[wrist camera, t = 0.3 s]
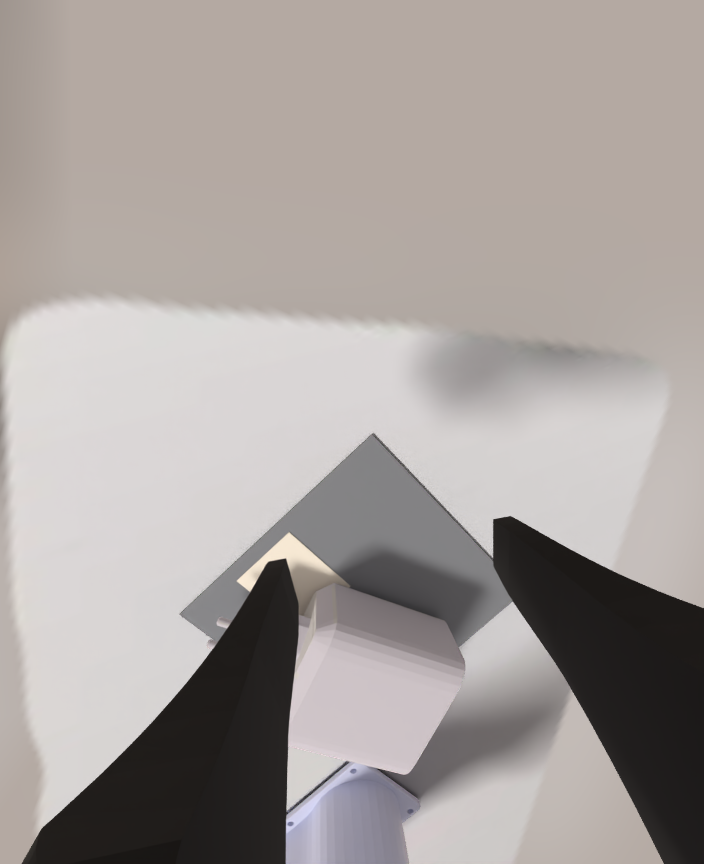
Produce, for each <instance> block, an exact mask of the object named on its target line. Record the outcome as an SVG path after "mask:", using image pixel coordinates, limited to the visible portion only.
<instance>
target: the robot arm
mask: <svg viewBox="0 0 704 864" xmlns="http://www.w3.org/2000/svg"><path fill="white" fill-rule="evenodd" d="M493 566H494V568H495V570H496V572H497V574H498V576H499V578H500V580H501V582H502V584H503V586H504V587H505V589H506V591H507V593H508V595H509V596H510V598H511V599H512V601H513V602H514V604H515V605H516V607H517V608H518V609H519V611H520V612H521V614H522V615H523V617H524V618H525V620H526V621H527V623H528V624H529V625H530V627H531V628H532V630H533V631H534V633H535V634H536V636H537V637H538V638H539V640H540V641H541V643H542V644H543V646H544V647H545V649H546V650H547V651H548V653H549V654H550V656H551V657H552V659H553V660H554V662H555V663H556V665H557V666H558V668H559V669H560V671H561V673H562V674H563V676H564V677H565V679H566V681H567V682H568V684H569V686H570V688H571V689H572V691H573V693H574V695H575V696H576V698H577V700H578V702H579V703H580V705H581V707H582V708H583V710H584V712H585V714H586V716H587V717H588V719H589V721H590V723H591V724H592V726H593V728H594V730H595V732H596V734H597V735H598V737H599V739H600V741H601V742H602V745H603V746H604V748H605V750H606V752H607V754H608V755H609V757H610V759H611V761H612V763H613V765H614V767H615V769H616V771H617V772H618V774H619V776H620V778H621V780H622V782H623V784H624V786H625V788H626V789H627V791H628V793H629V795H630V797H631V799H632V801H633V803H634V805H635V807H636V808H637V811H638V813H639V815H640V817H641V819H642V821H643V823H644V825H645V827H646V828H647V831H648V832H649V835H650V837H651V838H652V841H653V843H654V845H655V847H656V849H657V850H658V853H659V855H660V857H661V859H662V861H663V863H664V864H704V608H701V607H699V606H696V605H693V604H690V603H688V602H685V601H682V600H679V599H677V598H674V597H672V596H669V595H666V594H664V593H661V592H659V591H657V590H654V589H652V588H650V587H647V586H645V585H643V584H640V583H638V582H636V581H633V580H631V579H629V578H626V577H624V576H622V575H620V574H618V573H616V572H614V571H612V570H609V569H607V568H605V567H603V566H601V565H599V564H597V563H595V562H593V561H591V560H589V559H587V558H585V557H584V556H582V555H580V554H578V553H576V552H574V551H572V550H570V549H568V548H567V547H565V546H563V545H561V544H559V543H558V542H556V541H554V540H552V539H550V538H549V537H547V536H545V535H543V534H542V533H540V532H538V531H536V530H535V529H533V528H531V527H529V526H528V525H526V524H524V523H522V522H521V521H519V520H517V519H515V518H513V517H511V516H509V517H503V518H498V519H493ZM298 637H299V603H298V599H297V595H296V592H295V588H294V585H293V581H292V578H291V574H290V570H289V567H288V563H287V560H286V558H285V559H279V560H274V561H269V562H268V563H267V564H266V565H265V567H264V569H263V571H262V572H261V574H260V576H259V578H258V579H257V581H256V583H255V585H254V586H253V588H252V590H251V591H250V593H249V595H248V596H247V598H246V600H245V601H244V603H243V604H242V606H241V608H240V609H239V611H238V613H237V614H236V616H235V617H234V619H233V620H232V622H231V623H230V625H229V626H228V628H227V629H226V631H225V632H224V634H223V635H222V637H221V638H220V639H219V641H218V642H217V644H216V645H215V647H214V648H213V649H212V651H211V652H210V653H209V655H208V656H207V658H206V659H205V660H204V662H203V663H202V664H201V665H200V667H199V668H198V669H197V671H196V672H195V673H194V674H193V676H192V677H191V678H190V679H189V681H188V682H187V683H186V684H185V685H184V687H183V688H182V689H181V690H180V691H179V692H178V694H177V695H176V696H175V697H174V698H173V699H172V701H171V702H170V703H169V704H168V705H167V706H166V707H165V708H164V710H163V711H162V712H161V713H160V714H159V715H158V716H157V717H156V719H155V720H154V721H153V722H152V723H151V724H150V725H149V726H148V727H147V728H146V729H145V730H144V731H143V732H142V734H141V735H140V736H139V737H138V738H137V739H136V740H135V741H134V742H133V743H132V744H131V745H130V746H129V747H128V748H127V749H126V750H125V751H124V752H123V753H122V754H121V755H120V756H119V757H118V758H117V759H116V760H115V761H114V762H113V763H112V764H111V765H110V766H109V767H108V768H107V769H106V770H105V771H104V772H103V773H102V774H101V775H100V776H99V777H97V778H96V779H95V780H94V781H93V782H92V783H91V784H90V785H89V786H88V787H87V788H86V789H84V790H83V791H82V792H81V793H80V794H79V795H78V796H77V797H76V798H75V799H74V800H73V801H71V802H70V803H69V804H68V805H67V806H66V807H65V808H64V809H63V810H62V811H61V812H60V813H58V814H57V815H56V816H55V817H54V818H53V819H52V820H51V821H50V822H48V823H47V824H46V825H45V826H44V827H43V828H42V829H41V831H40V832H39V834H38V836H37V838H36V839H35V841H34V843H33V845H32V846H31V848H30V850H29V852H28V854H27V855H26V857H25V859H24V861H23V862H22V864H409V859H408V853H407V848H406V842H405V836H404V831H403V825H402V823H403V822H404V821H406V820H407V819H408V818H409V817H411V816H412V815H413V814H414V813H416V812H417V811H418V810H419V809H420V802H419V800H418V799H417V798H416V797H415V796H413V795H412V794H411V793H409V792H408V791H406V790H405V789H404V788H402V787H401V786H400V785H398V784H397V783H395V782H394V781H393V780H391V779H390V778H389V777H387V776H386V775H384V774H383V773H382V772H380V771H379V770H378V769H376V768H374V767H370V766H366V765H362V764H358V763H354V762H349V763H348V764H347V765H346V766H344V767H343V768H342V769H341V770H340V771H338V772H337V773H336V774H335V775H334V776H333V777H331V778H330V779H329V780H328V781H327V782H325V783H324V784H323V785H322V786H321V787H319V788H318V789H317V790H316V791H315V792H314V793H312V794H311V795H310V796H309V797H308V798H306V799H305V800H304V801H303V802H302V803H300V804H299V805H298V806H297V807H296V808H295V809H293V810H292V811H291V812H290V813H289V814H287V815H286V804H287V762H288V732H289V720H290V709H291V700H292V691H293V682H294V674H295V665H296V656H297V646H298Z"/></svg>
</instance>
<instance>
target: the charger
mask: <svg viewBox="0 0 704 864" xmlns="http://www.w3.org/2000/svg"><path fill="white" fill-rule="evenodd" d="M231 622H232V620H230V619H226V618H223V617H219V618H218V620H217V626H221V627H224V628H228V626H229V625H230V623H231ZM217 642H218V641H215V640H212V639H211V640H209V641H208V643H207V648H209V649H213V648H214V647H215V645H216V644H217ZM464 674H465V661H464V658H463V656H462V654H461V652H460V650H459V648H458V646H457V644H456V642H455V639H454V637H453V635H452V633H451V631H450V629H449V627H448V625H447V623H446V622H445V621H444V620H441V619H439V618H436V617H433V616H430V615H427V614H424V613H421V612H418V611H415V610H412V609H409V608H406V607H404V606H401V605H398V604H395V603H392V602H389V601H386V600H383V599H380V598H377V597H374V596H371V595H369V594H366V593H363V592H360V591H357V590H354V589H351V588H348V587H345V586H342V585H339V584H336V583H333V584H331V585H329V586H326V587H324V588H322V589H320V590H318V591H316V592H315V593H314V595H313V596H312V598H311V600H310V603H309V605H308V607H307V609H306V611H305V613H304V615H303V616H301V615H299V637H298V646H297V656H296V665H295V674H294V682H293V691H292V700H291V709H290V720H289V732H288V747H292V748H296V749H301V750H305V751H309V752H313V753H317V754H321V755H325V756H329V757H333V758H337V759H341V760H346V761H350V762H354V763H358V764H362V765H366V766H370V767H374V768H378V769H382V770H386V771H390V772H395V773H399V774H403V775H405V774H408V773H409V772H410V771H411V770H412V769H413V767H414V766H415V764H416V763H417V761H418V759H419V757H420V756H421V754H422V752H423V751H424V749H425V747H426V746H427V744H428V742H429V741H430V739H431V737H432V736H433V734H434V732H435V730H436V729H437V727H438V725H439V724H440V722H441V720H442V719H443V717H444V715H445V714H446V712H447V710H448V709H449V707H450V705H451V703H452V702H453V700H454V698H455V697H456V695H457V693H458V691H459V689H460V687H461V684H462V682H463V679H464Z"/></svg>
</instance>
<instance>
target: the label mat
mask: <svg viewBox="0 0 704 864" xmlns="http://www.w3.org/2000/svg"><path fill="white" fill-rule="evenodd" d="M285 558H286V560H287V563H288V567H289V570H290V574H291V578H292V581H293V585H294V588H295V592H296V595H297V599H298V603H299V615H301V616H303V615H304V613H305V611H306V609H307V607H308V605H309V603H310V600H311V598H312V596H313V595H314V593H315V592H316V591H318V590H320V589H322V588H324V587H326V586H329V585H331V584H333V583H336V584H339V585H342V586H345V587H348V588H351V589H354V590H357V591H360V592H363V593H366V594H369V595H371V596H374V597H377V598H380V599H383V600H386V601H389V602H392V603H395V604H398V605H401V606H404V607H406V608H409V609H412V610H415V611H418V612H421V613H424V614H427V615H430V616H433V617H436V618H439V619H441V620H444V621H445V622H446V623H447V625H448V627H449V629H450V631H451V633H452V635H453V637H454V639H455V642H456V644H457V646H458V647H459V646H461V645H462V644H463V643H464V642H465V641H467V640H468V639H469V638H470V637H471V636H472V635H474V634H475V633H476V632H477V631H478V630H479V629H481V628H482V627H483V626H484V625H485V624H487V623H488V622H489V621H490V620H491V619H492V618H494V617H495V616H496V615H497V614H498V613H499V612H501V611H502V610H503V609H504V608H505V607H507V606H508V605H509V604H510V603H511V602H512V599H511V598H510V596H509V595H508V593H507V591H506V589H505V587H504V586H503V584H502V582H501V580H500V578H499V576H498V574H497V572H496V570H495V568H494V566H493V560H492V559H491V558H490V557H489V556H488V555H487V554H486V553H485V552H484V551H483V550H482V549H481V548H480V547H479V546H478V545H477V544H476V543H475V542H474V541H473V539H472V538H471V537H470V536H469V535H468V534H467V533H466V532H465V531H464V530H463V529H462V528H461V527H460V526H459V525H458V524H457V523H456V522H455V521H454V520H453V519H452V518H451V516H450V515H449V514H448V513H447V512H446V511H445V510H444V509H443V508H442V507H441V506H440V505H439V504H438V503H437V502H436V501H435V500H434V499H433V498H432V497H431V496H430V494H429V493H428V492H427V491H426V490H425V489H424V488H423V487H422V486H421V485H420V484H419V483H418V482H417V481H416V480H415V479H414V478H413V477H412V476H411V475H410V474H409V473H408V471H407V470H406V469H405V468H404V467H403V466H402V465H401V464H400V463H399V462H398V461H397V460H396V459H395V458H394V457H393V456H392V455H391V454H390V453H389V452H388V451H387V449H386V448H385V447H384V446H383V445H382V444H381V443H380V442H379V441H378V440H377V439H376V438H375V437H374V436H373V435H370V436H369V437H368V438H367V439H366V440H365V441H364V442H363V443H362V444H361V445H360V446H359V447H358V448H357V449H355V450H354V451H353V452H352V453H351V454H350V455H349V456H348V457H347V458H346V459H345V460H344V461H343V462H342V463H341V464H339V465H338V466H337V467H336V468H335V469H334V470H333V471H332V472H331V473H330V474H329V475H328V476H327V477H326V478H324V479H323V480H322V481H321V482H320V483H319V484H318V485H317V486H316V487H315V488H314V489H313V490H312V491H311V492H310V493H308V494H307V495H306V496H305V497H304V498H303V499H302V500H301V501H300V502H299V503H298V504H297V505H296V506H295V507H293V508H292V509H291V510H290V511H289V512H288V513H287V514H286V515H285V516H284V517H283V518H282V519H281V520H280V521H279V522H277V523H276V524H275V525H274V526H273V527H272V528H271V529H270V530H269V531H268V532H267V533H266V534H265V535H264V536H262V537H261V538H260V539H259V540H258V541H257V542H256V543H255V544H254V545H253V546H252V547H251V548H250V549H249V550H248V551H246V552H245V553H244V554H243V555H242V556H241V557H240V558H239V559H238V560H237V561H236V562H235V563H234V564H233V565H231V566H230V567H229V568H228V569H227V570H226V571H225V572H224V573H223V574H222V575H221V576H220V577H219V578H218V579H217V580H215V581H214V582H213V583H212V584H211V585H210V586H209V587H208V588H207V589H206V590H205V591H204V592H203V593H202V594H200V595H199V596H198V597H197V598H196V599H195V600H194V601H193V602H192V603H191V604H190V605H189V606H188V607H187V608H186V609H184V610H183V611H182V612H181V613H180V615H181V616H182V617H183V618H185V619H186V620H187V621H189V622H190V623H192V624H193V625H194V626H196V627H197V628H198V629H200V630H201V631H202V632H204V633H205V634H206V635H208V636H209V637H211V638H212V639H213V640H215V641H219V639H220V638H221V637H222V635H223V634H224V632H225V631H226V629H227V628H224V627H221V626H217V620H218V618H219V617H223V618H226V619H230V620H233V619H234V617H235V616H236V614H237V613H238V611H239V609H240V608H241V606H242V604H243V603H244V601H245V600H246V598H247V596H248V595H249V593H250V591H251V590H252V588H253V586H254V585H255V583H256V581H257V579H258V578H259V576H260V574H261V572H262V571H263V569H264V567H265V565H266V564H267V563H268V562H269V561H274V560H279V559H285Z"/></svg>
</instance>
